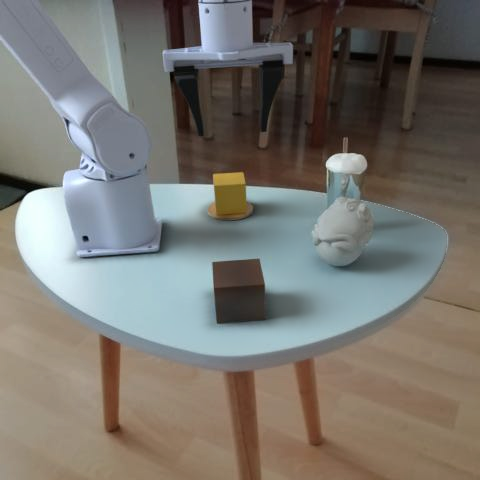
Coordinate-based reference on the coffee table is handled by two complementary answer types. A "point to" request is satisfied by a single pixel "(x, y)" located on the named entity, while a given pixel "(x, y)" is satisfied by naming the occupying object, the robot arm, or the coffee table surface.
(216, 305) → the walnut block
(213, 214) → the cork coaster
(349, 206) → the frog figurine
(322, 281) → the coffee table surface
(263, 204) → the coffee table surface
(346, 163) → the milkshake
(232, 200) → the top cube
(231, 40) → the robot arm
